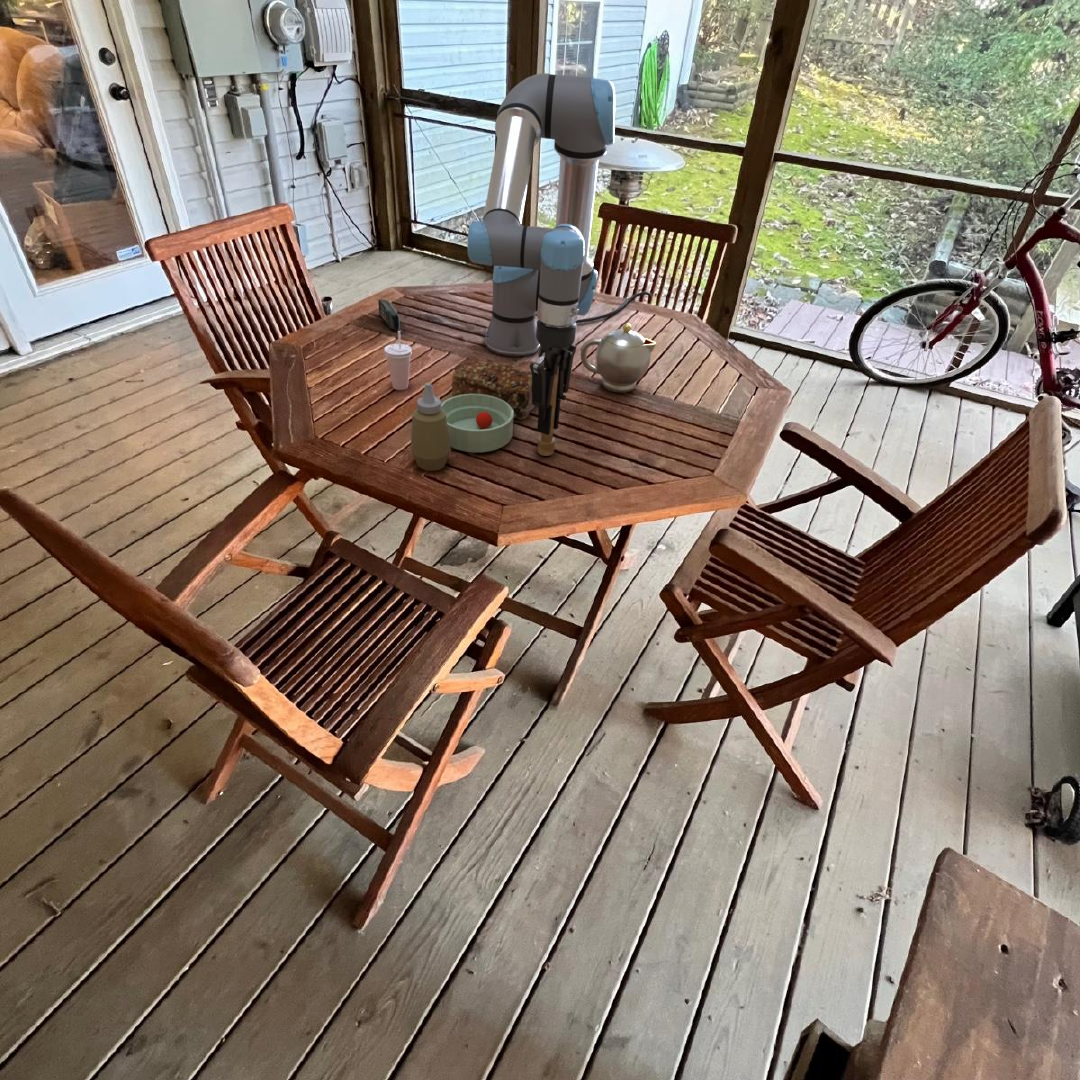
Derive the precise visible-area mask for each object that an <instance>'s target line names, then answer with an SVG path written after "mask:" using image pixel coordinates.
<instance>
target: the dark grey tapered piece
mask: <svg viewBox="0 0 1080 1080" xmlns="http://www.w3.org/2000/svg"><path fill="white" fill-rule="evenodd" d="M377 303H378V304H377V305H378V314H379V316H380V317H381V318H382V319H383V320H384V322H385V323H386V325H387V327H388V328H390V329H391V330H393V331H395V330H396V331H397V332H398V331H400V334H403V330H401V328H400V327H401V326H400V325H401V324H400V323H401V321H400V315H399V313H398V311H397V310H396V308H395V307H394V306H393V305H392V304H391V303H390V301H388V300H387V299H379V300H378V301H377Z"/></svg>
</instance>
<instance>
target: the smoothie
mask: <svg viewBox="0 0 1080 1080" xmlns="http://www.w3.org/2000/svg"><path fill="white" fill-rule="evenodd" d="M401 336H402V335H401V333H400V331H398V330H397V339H398V343H391V344H389V345H386V346H385V347H384V348H383V350H384V355H385V356H386V357H385V358H386V362H387V366H388V371H389V375H390V380H391V386H392V388H393V389H394V390H396V391H405V390H408V388H409V381H410V368H411V355H413V354H412V353H413V352H412V351H413V349H412V347H411V346H410V345H407V344H406V343H402V337H401Z"/></svg>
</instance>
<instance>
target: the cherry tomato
mask: <svg viewBox="0 0 1080 1080" xmlns="http://www.w3.org/2000/svg"><path fill="white" fill-rule="evenodd" d="M476 423H477V425H478V426H479V427H481V428H488V427H489V426H490V425H491V424H492V417H491V415H490V414H489V413H487V412H481V413H479V414H478V415H477V417H476Z"/></svg>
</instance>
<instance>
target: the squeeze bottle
mask: <svg viewBox="0 0 1080 1080" xmlns="http://www.w3.org/2000/svg"><path fill="white" fill-rule="evenodd" d="M441 404H442V401H441V399H440V398H439V397H437V396H435V392H434V388H433V385H432V383H431V382H425V384H424V387H423V393H422V396H421V397H419V398H418V399H417V400H416V408H415V409H414V410H413V412H412V415H411V416H412V419H411V434H410V435H411V436H410V451H411V454H412V456H413V458H414V461H415V463H416V465H417V467H419V469H422V470H424V471H428V472H429V471H430V472H431V471H439V470H441V469H443V468H444V467H445V466H446V464H447V461H448V458H449V455H450V453H451V450H452V447H451V446H450V439H449V431H448V424H447V416H446V412H445V410H443V409H442V408H441Z"/></svg>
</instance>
